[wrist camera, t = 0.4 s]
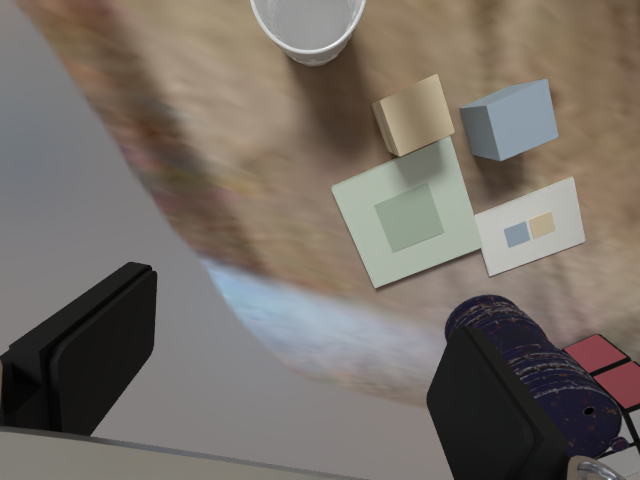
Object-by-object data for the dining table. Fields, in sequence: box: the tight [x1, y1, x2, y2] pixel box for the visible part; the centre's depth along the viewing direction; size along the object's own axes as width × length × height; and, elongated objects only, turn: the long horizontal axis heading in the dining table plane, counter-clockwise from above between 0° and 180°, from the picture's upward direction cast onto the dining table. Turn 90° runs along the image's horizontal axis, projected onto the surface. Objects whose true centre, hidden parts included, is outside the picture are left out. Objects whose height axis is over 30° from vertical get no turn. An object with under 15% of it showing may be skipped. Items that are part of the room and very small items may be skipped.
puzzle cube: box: [562, 334, 640, 478], centre depth 40 cm, size 10×10×10 cm
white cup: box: [250, 0, 366, 66], centre depth 26 cm, size 8×8×10 cm
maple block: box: [371, 74, 455, 157], centre depth 31 cm, size 5×5×6 cm
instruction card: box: [474, 177, 586, 276], centre depth 37 cm, size 11×8×1 cm
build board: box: [331, 136, 483, 288], centre depth 36 cm, size 13×13×1 cm
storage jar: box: [445, 295, 629, 459], centre depth 33 cm, size 10×10×18 cm
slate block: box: [459, 79, 558, 161], centre depth 31 cm, size 5×5×6 cm
